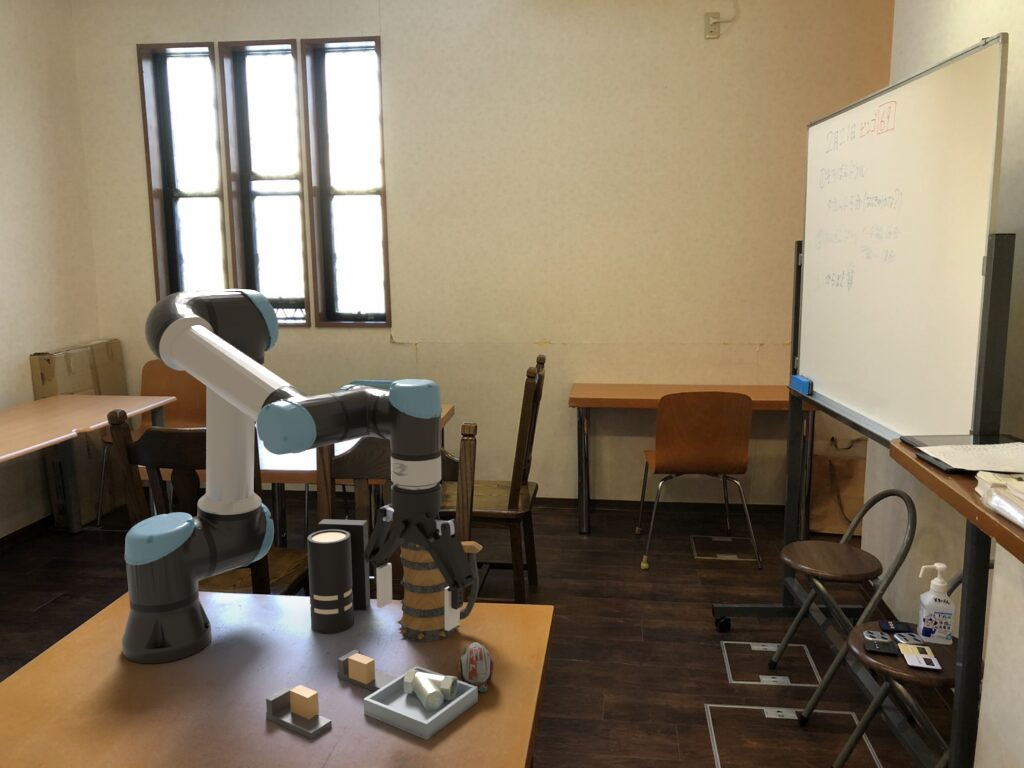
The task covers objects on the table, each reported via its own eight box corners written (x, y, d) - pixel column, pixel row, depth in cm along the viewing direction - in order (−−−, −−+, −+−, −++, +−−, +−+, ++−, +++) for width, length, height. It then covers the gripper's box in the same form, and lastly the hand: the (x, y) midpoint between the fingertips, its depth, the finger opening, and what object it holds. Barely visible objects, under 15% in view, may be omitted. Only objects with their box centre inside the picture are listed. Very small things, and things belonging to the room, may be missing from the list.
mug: (405, 612, 164) (402, 515, 161) (490, 618, 161) (489, 519, 158) (385, 642, 151) (381, 537, 148) (476, 648, 149) (475, 542, 145)
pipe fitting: (441, 718, 126) (458, 693, 132) (440, 695, 125) (457, 671, 131) (394, 709, 128) (413, 685, 134) (392, 687, 127) (411, 664, 133)
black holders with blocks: (266, 718, 126) (264, 691, 126) (354, 667, 142) (353, 643, 141) (311, 739, 121) (310, 710, 120) (398, 683, 136) (397, 658, 136)
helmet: (458, 698, 134) (458, 671, 130) (457, 657, 141) (457, 631, 137) (494, 696, 135) (495, 669, 131) (491, 656, 141) (492, 629, 137)
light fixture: (300, 632, 155) (296, 542, 153) (325, 602, 169) (321, 519, 166) (350, 635, 154) (347, 544, 152) (371, 604, 168) (368, 520, 165)
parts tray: (364, 714, 127) (363, 699, 127) (417, 679, 138) (416, 665, 137) (426, 739, 120) (426, 724, 120) (477, 701, 131) (477, 686, 130)
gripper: (338, 475, 127) (342, 604, 131) (467, 503, 114) (467, 647, 117) (372, 464, 133) (374, 588, 137) (498, 491, 120) (497, 627, 123)
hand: (417, 615), depth 127 cm, fingers open, 13 cm apart
